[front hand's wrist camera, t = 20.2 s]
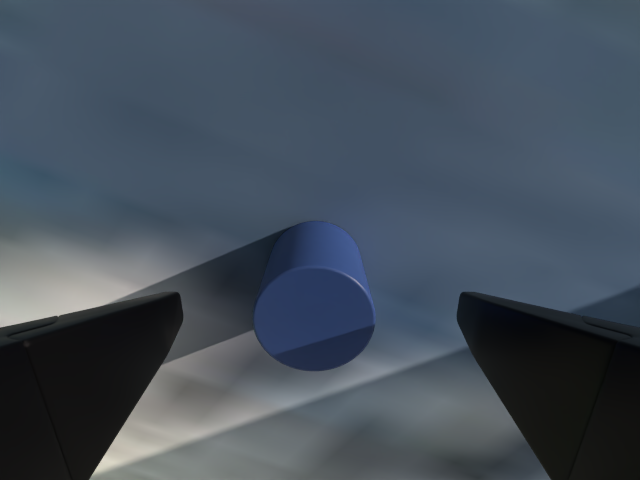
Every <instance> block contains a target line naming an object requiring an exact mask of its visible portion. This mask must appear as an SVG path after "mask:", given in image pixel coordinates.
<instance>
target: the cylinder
mask: <svg viewBox="0 0 640 480" xmlns="http://www.w3.org/2000/svg"><path fill="white" fill-rule="evenodd" d="M375 317H376V316H375V309H374V305H373V301H372V297H371V294H370V290H369V286H368V282H367V279H366V275H365V271H364V267H363V264H362V260H361V256H360V253H359V249H358V247H357V245H356V243H355V242H354V240H353V239H352V238H351V236H350V235H349V234H348V233H347V232H345V231H344V230H343V229H341V228H339V227H338V226H336V225H333V224H330V223H327V222H321V221H310V222H304V223H300V224H297V225H295V226H293V227H291V228H289V229H288V230H287V231H285V232H284V233H283V234H282V235H281V236H280V237H279V238H278V240H277V241H276V243H275V245H274V246H273V249H272V252H271V255H270V258H269V261H268V264H267V267H266V270H265V273H264V276H263V279H262V282H261V285H260V288H259V291H258V294H257V297H256V300H255V303H254V307H253V311H252V322H253V328H254V332H255V334H256V337H257V339H258V341H259V343H260V344H261V346H262V347H263V348H264V350H265V351H266V352H267V353H268V354H269V355H270V356H272V357H273V358H274V359H276V360H277V361H279V362H280V363H282V364H284V365H286V366H289V367H292V368H295V369H299V370H304V371H324V370H329V369H334V368H337V367H340V366H342V365H344V364H346V363H348V362H349V361H351V360H353V359H354V358H355V357H356V356H358V355H359V354H360V353H361V352H362V351H363V350H364V348H365V347H366V346H367V344H368V342H369V341H370V339H371V337H372V334H373V331H374V327H375Z"/></svg>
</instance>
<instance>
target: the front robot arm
mask: <svg viewBox="0 0 640 480" xmlns="http://www.w3.org/2000/svg"><path fill="white" fill-rule="evenodd" d="M182 322H183V310H182V304H181V297H180V294H179V293H178V292H163V293H159V294H154V295H150V296H145V297H141V298H136V299H132V300H127V301H123V302H118V303H114V304H109V305H105V306H100V307H96V308H91V309H87V310H82V311H78V312H73V313H69V314H64V315H60V316H59V317H58V316H53V317H49V318H44V319H39V320H35V321H30V322H25V323H21V324H16V325H11V326H6V327H1V328H0V480H89V479H90V477H91V476H92V474H93V472H94V471H95V469H96V468H97V466H98V464H99V463H100V461H101V460H102V458H103V456H104V455H105V453H106V452H107V450H108V449H109V447H110V445H111V444H112V442H113V441H114V439H115V437H116V436H117V434H118V433H119V431H120V430H121V428H122V426H123V425H124V423H125V422H126V420H127V418H128V417H129V415H130V414H131V412H132V410H133V409H134V407H135V406H136V404H137V403H138V401H139V399H140V398H141V396H142V395H143V393H144V391H145V390H146V388H147V387H148V385H149V384H150V382H151V380H152V379H153V377H154V376H155V374H156V372H157V371H158V369H159V368H160V366H161V364H162V363H163V361H164V360H165V358H166V356H167V354H168V352H169V350H170V348H171V346H172V344H173V342H174V340H175V338H176V335H177V333H178V331H179V329H180V327H181V325H182ZM457 322H458V325H459V327H460V329H461V331H462V333H463V335H464V338H465V340H466V342H467V344H468V346H469V348H470V350H471V352H472V354H473V356H474V358H475V360H476V361H477V363H478V364H479V366H480V368H481V369H482V371H483V372H484V374H485V376H486V377H487V379H488V380H489V382H490V383H491V385H492V387H493V388H494V390H495V391H496V393H497V395H498V396H499V398H500V399H501V401H502V403H503V404H504V406H505V407H506V409H507V410H508V412H509V414H510V415H511V417H512V418H513V420H514V422H515V423H516V425H517V426H518V428H519V429H520V431H521V433H522V434H523V436H524V437H525V439H526V441H527V442H528V444H529V445H530V447H531V449H532V450H533V452H534V453H535V455H536V456H537V458H538V460H539V461H540V463H541V464H542V466H543V468H544V469H545V471H546V472H547V474H548V476H549V477H550V479H551V480H640V328H639V327H634V326H629V325H624V324H619V323H615V322H610V321H605V320H601V319H596V318H591V317H587V316H582V317H581V316H580V315H576V314H571V313H567V312H562V311H558V310H553V309H549V308H544V307H540V306H535V305H531V304H526V303H522V302H517V301H513V300H508V299H504V298H499V297H495V296H490V295H486V294H481V293H477V292H462V293H461V294H460V297H459V304H458V310H457Z"/></svg>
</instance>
